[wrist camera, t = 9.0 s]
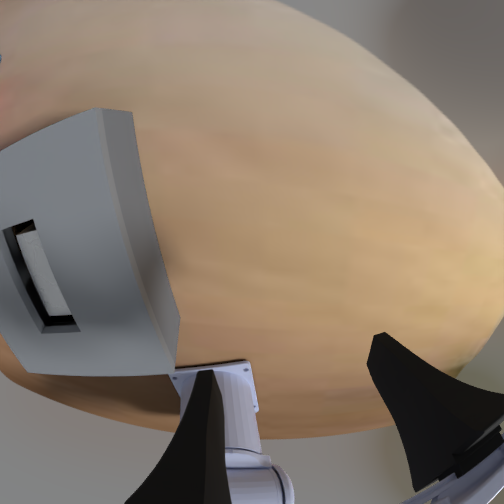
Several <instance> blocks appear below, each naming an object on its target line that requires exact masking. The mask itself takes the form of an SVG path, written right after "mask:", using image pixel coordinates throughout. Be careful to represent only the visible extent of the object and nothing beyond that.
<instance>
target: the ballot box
mask: <svg viewBox="0 0 504 504" xmlns="http://www.w3.org/2000/svg"><path fill="white" fill-rule="evenodd" d="M31 219H33V220H34V223H35V227H36V230H37V233H38V236H39V239H40V242H41V244H42V247H43V250H44V253H45V255H46V258H47V260H48V263H49V266H50V268H51V270H52V273H53V275H54V278H55V280H56V282H57V284H58V287H59V289H60V291H61V293H62V295H63V298H64V300H65V302H66V304H67V306H68V308H69V310H70V312H71V314H72V316H73V318H74V320H75V321H68V322H54V323H53V322H52V320H51V318H50V316H49V315H48V313H47V311H46V309H45V307H44V305H43V303H42V301H41V299H40V297H39V295H38V293H37V291H36V289H35V286H34V284H33V282H32V280H31V277H30V275H29V273H28V270H27V268H26V266H25V263H24V261H23V258H22V256H21V253H20V250H19V248H18V245H17V242H16V239H15V236H14V233H13V230H12V227H11V226H14V225H17V224H20V223H22V222H25V221H28V220H31ZM179 325H180V315H179V312H178V309H177V306H176V303H175V300H174V297H173V293H172V290H171V287H170V283H169V280H168V277H167V273H166V270H165V266H164V263H163V259H162V255H161V252H160V248H159V244H158V240H157V236H156V232H155V228H154V224H153V220H152V216H151V212H150V207H149V203H148V199H147V194H146V189H145V185H144V180H143V175H142V169H141V164H140V159H139V153H138V148H137V142H136V135H135V129H134V122H133V115H132V112H127V111H120V110H112V109H104V108H92V109H90V110H87V111H84V112H82V113H79V114H76V115H74V116H71V117H69V118H66V119H64V120H62V121H59V122H57V123H55V124H52V125H50V126H48V127H46V128H44V129H41V130H39V131H37V132H35V133H33V134H31V135H29V136H27V137H25V138H23V139H21V140H20V141H18V142H16V143H14V144H12V145H10V146H9V147H7V148H5V149H3V150H2V151H0V333H1V334H2V336H3V338H4V339H5V341H6V342H7V344H8V345H9V347H10V348H11V350H12V351H13V353H14V354H15V356H16V357H17V359H18V360H19V361H20V363H21V364H22V366H23V367H24V368H25V370H26V371H27V372H30V373H40V374H52V375H70V376H141V375H160V374H173V373H174V372H175V361H176V351H177V342H178V333H179Z"/></svg>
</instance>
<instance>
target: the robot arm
mask: <svg viewBox="0 0 504 504" xmlns="http://www.w3.org/2000/svg"><path fill="white" fill-rule="evenodd" d="M367 367H368V369H369V372H370V375H371V377H372V380H373V382H374V384H375V386H376V388H377V389H378V391H379V393H380V395H381V397H382V399H383V400H384V402H385V404H386V406H387V408H388V409H389V411H390V413H391V415H392V417H393V419H394V421H395V423H396V426H397V429H398V431H399V434H400V437H401V440H402V443H403V446H404V449H405V452H406V456H407V460H408V464H409V468H410V473H411V478H412V485H413V488H414V490H415V492H418V491H419V490H421V489H423V488H425V487H427V486H429V485H430V484H432V483H434V482H435V481H437V480H439V482H438V483H437V484H435V485H433V486H432V487H430V488H428V489H426V490H425V491H423V492H421V493H419V494H417V495H415V496H414V497H411V498H410V499H408V500H406V501H404V502H402V503H399V504H424V503H426V502H427V501H429V500H431V499H432V501H431V504H488V503H489V502H490V501H491V500H492V499H493V498H494V497H495V496H496V495H497V494H498V493H499V492H500V491H501V489H502V488H503V487H504V433H503V434H502V435H501V434H500V433H499V432H500V431H501V427H500V425H499V424H500V423H501V422H502V421H503V420H504V394H501V393H495V392H490V391H487V390H483V389H480V388H477V387H474V386H471V385H468V384H466V383H463V382H461V381H459V380H457V379H455V378H453V377H451V376H449V375H447V374H445V373H443V372H441V371H439V370H438V369H436V368H435V367H433V366H431V365H430V364H428V363H427V362H425V361H424V360H422V359H421V358H419V357H418V356H417V355H415V354H414V353H412V352H411V351H410V350H408V349H407V348H406V347H404V346H403V345H402V344H400V343H399V342H398V341H396V340H395V339H394V338H392V337H391V336H390V335H388V334H387V333H386V332H383V333H380V334H377V335H374V336H373V341H372V345H371V349H370V353H369V357H368V361H367ZM245 368H247V369H245ZM168 375H169V377H170V379H171V381H172V383H173V385H174V387H175V389H176V391H177V392H178V394H179V396H180V398H181V406H180V424H179V426H178V428H177V430H176V432H175V435H174V437H173V438H172V441H171V442H170V444H169V446H168V448H167V449H166V451H165V453H164V454H163V456H162V457H161V459H160V461H159V462H158V464H157V465H156V467H155V468H154V469H153V471H152V472H151V473H150V475H149V476H148V477H147V478H146V480H145V481H144V482H143V483H142V485H141V486H140V487H139V488H138V489H137V490H136V491H135V492H134V493H133V494H132V495H131V496H130V498H128V499H127V500H126V502H125V503H124V504H294V491H293V486H292V482H291V480H290V478H289V476H288V475H287V473H286V472H285V471H284V470H283V469H282V468H281V467H280V466H278V465H274V464H272V463H271V459H270V456H269V455H262V450H261V444H260V439H259V433H258V428H257V422H256V416H255V412H258V411H259V408H258V402H257V397H256V392H255V387H254V381H253V376H252V371H251V365H250V362H249V361H240V362H233V363H226V364H218V365H210V366H202V367H193V368H183V369H175V372H174V373H173V374H168Z"/></svg>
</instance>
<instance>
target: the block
mask: <svg viewBox="0 0 504 504" xmlns="http://www.w3.org/2000/svg"><path fill="white" fill-rule="evenodd" d="M16 237H17V240H18V243H19V246H20V249H21V252H22V255H23V257H24V260H25V263H26V265H27V268H28V270H29V273H30V275H31V278H32V280H33V282H34V285H35V287H36V289H37V291H38V294H39V296H40V298H41V300H42V302H43V304H44V306H45V308H46V310H47V312H48V314H49V316H59V315H72V314H71V312H70V310H69V308H68V306H67V304H66V302H65V300H64V298H63V295H62V293H61V291H60V289H59V287H58V284H57V282H56V280H55V278H54V275H53V273H52V270H51V268H50V266H49V263H48V260H47V258H46V255H45V253H44V250H43V247H42V244H41V242H40V239H39V236H38V233H37V230H36V227H35V223H33V224H31V225H30V226H28V227H27V228H26V229H24V230H23V231H21V232H20V233H19V234H17V235H16Z"/></svg>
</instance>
